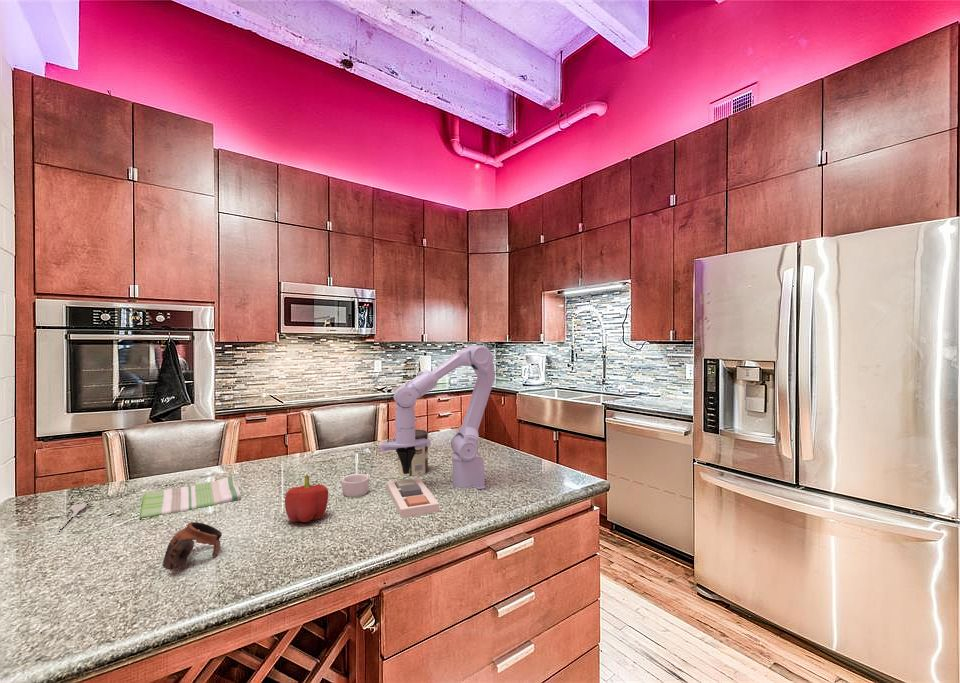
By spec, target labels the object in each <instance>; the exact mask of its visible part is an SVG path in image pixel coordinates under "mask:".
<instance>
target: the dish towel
mask: <svg viewBox="0 0 960 683" xmlns="http://www.w3.org/2000/svg"><path fill="white" fill-rule="evenodd" d="M241 499H242V494H241V492H240V489H239V487H238V484H237V482H235V476H234V475H230V476H227V477H224V478H221V479H217V480H213V481H209V482H208V481H207V482H203V483H197V484H193V485H191V486H181V487H178V486H177V487H172V488H168V489H163V490H156V491H152V492H149V493H143V495H142V500H141V501H142V503H141V509H140V516H139V520H140V519H142V518H147V517H153V518H155V517H154V516H158V517H160V516H159V515H163V516H166V515H165V514H168V515H172V514H171V513H174V514H178V513H177V512H180V513H182V512H181V511H184V512H188V511H187V510H189V511H192V509H194V510H198V508H200V509H203V508H204V507H205V508H210V507H213V506H214V505H215V506H218V504H219V505H222V504H227V502H228V503H231V502H236V501H239V500H241ZM209 506H210V507H209ZM142 520H143V519H142Z"/></svg>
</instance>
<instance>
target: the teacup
mask: <svg viewBox="0 0 960 683" xmlns="http://www.w3.org/2000/svg"><path fill="white" fill-rule="evenodd" d="M369 485H370V477H369V475H367V474H363V473H353V474H348V475H346V476H343V477H342V478H341V490H342V495H343V496H344V497H347V498H358V497H362V496H365V495H366V494H367V492H368V491H369Z"/></svg>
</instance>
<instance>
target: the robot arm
mask: <svg viewBox="0 0 960 683" xmlns="http://www.w3.org/2000/svg"><path fill="white" fill-rule="evenodd" d="M463 366H465V367H466V366H470V367H471V368H472V369H473V372H474V373H475V375H476V377H477V378H476V381H475V384H474V386H473V389H472V392H471V396H470V400H469V402H468V405H467V408H466V411H465V414H464V417H463V421H462V424H461V425H460V426H459V427H458V429H457V432H456V434H455V435H454V436H452V438H451V442H450V448H451V450H452V451H453V452H454V453H453V455H452V486H453V487H455V488H459V489H468V488H469V489H470V488H473V487H474V488H475V489H476V490H482V489H483V490H484V489H486V486H485V463H484V460H483V458H482V457H481V456H477V455H478V453H479V441H480V440H479V439H480V437H479V435H480V434H479V428H480V425H481V422H482V419H483V417H484V413H485V410H486V407H487V404H488V400H489V397H490V395H491V391H492V388H493V384H494V382H495V379H496V371H495V365H494V355H493V354H492V352H491V351H490V349H489V348H488V346H486V345H482V344H479V345H476V344H468V345H467V346H466V347H465V348H462V349H460V350H459V351H456V353H454V354H453V355H451V356H450V357H449V358H448V359H446V360H444V362H442V363H441V364H439V365H438V366H437V367H435V368H434V369H433V370H431V371H430V370H424V371H422V370H420V371H419V372H418V373H417V376H416V377H414V378H412V379H410V380H409V381H408V380H406V381H405V382H404V385H401V386H399V387H397V388H396V389H395V391H394V393H393V400H394V402H395V406H394V407H395V408H394V409H395V413H394V414H395V416H394V419H395V421H394V422H395V424H394V425H395V426H394V428H395V441H389V442H383V443H380V444H379V451H380V452H381V453H383V452H387V451H394V450H395V451H396V454H397V457H398V456H399V459H400V461H401V465H402V469H403V473H404V474H409V469H410V465H411V462H412V459H413V457H414V455H415V453H416V449H415V448H416V447H425V446H426V447H428V448H429V447H431V440H430V439H429V438H428V439H415V430H416V414H415V413H416V411H415V404H416V402H417V400H418V399H420V398H421V397H423V396H425V395H426V394H427V393H429V392H431V391H432V390H433V389H435V388H436V387H437V385H438V381H439V380H440V379H442V378H444V376H446V375H448V374H450V373H451V372H452V371H454V370H456V369H457V368H459V367H463Z"/></svg>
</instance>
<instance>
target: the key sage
mask: <svg viewBox="0 0 960 683" xmlns="http://www.w3.org/2000/svg"><path fill="white" fill-rule="evenodd" d="M405 479H406V478H405ZM405 479H399V481H397V480H395V481H396V487H397V489H400V488H401V486H403V485H411V484H415V482H414V481H413V480H412V479H413V478H407V479H406V480H405Z"/></svg>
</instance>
